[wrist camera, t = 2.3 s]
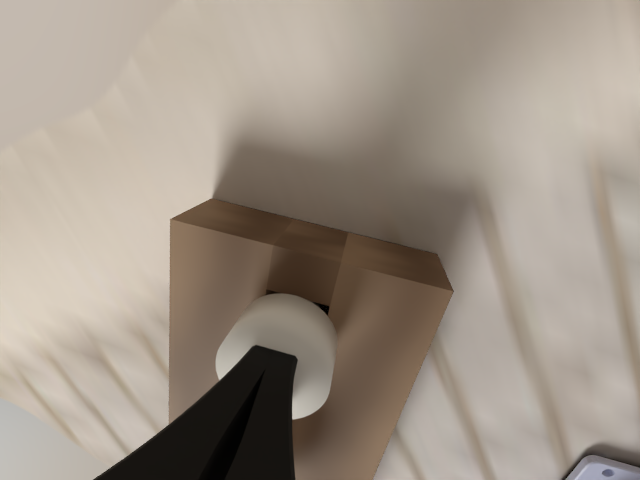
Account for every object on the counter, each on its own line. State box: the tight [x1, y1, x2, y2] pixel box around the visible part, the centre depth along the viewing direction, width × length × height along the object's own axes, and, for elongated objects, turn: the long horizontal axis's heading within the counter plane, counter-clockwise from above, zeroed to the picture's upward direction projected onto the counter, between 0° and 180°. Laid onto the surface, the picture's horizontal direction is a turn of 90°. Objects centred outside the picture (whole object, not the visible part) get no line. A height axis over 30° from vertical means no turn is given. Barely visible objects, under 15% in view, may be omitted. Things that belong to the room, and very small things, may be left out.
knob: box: [216, 293, 338, 420], centre depth 12 cm, size 4×4×4 cm
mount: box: [169, 199, 453, 480], centre depth 17 cm, size 10×24×3 cm, turn 169°
